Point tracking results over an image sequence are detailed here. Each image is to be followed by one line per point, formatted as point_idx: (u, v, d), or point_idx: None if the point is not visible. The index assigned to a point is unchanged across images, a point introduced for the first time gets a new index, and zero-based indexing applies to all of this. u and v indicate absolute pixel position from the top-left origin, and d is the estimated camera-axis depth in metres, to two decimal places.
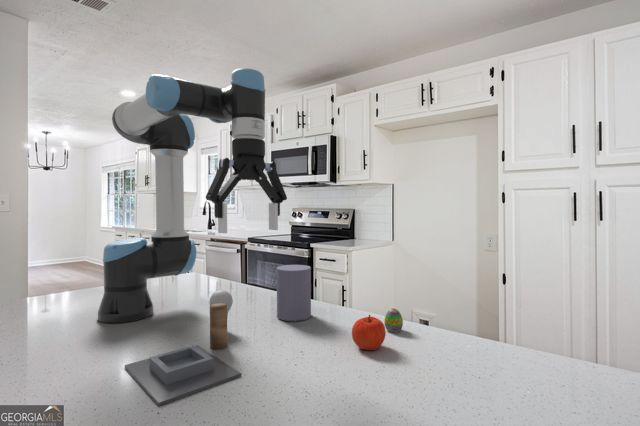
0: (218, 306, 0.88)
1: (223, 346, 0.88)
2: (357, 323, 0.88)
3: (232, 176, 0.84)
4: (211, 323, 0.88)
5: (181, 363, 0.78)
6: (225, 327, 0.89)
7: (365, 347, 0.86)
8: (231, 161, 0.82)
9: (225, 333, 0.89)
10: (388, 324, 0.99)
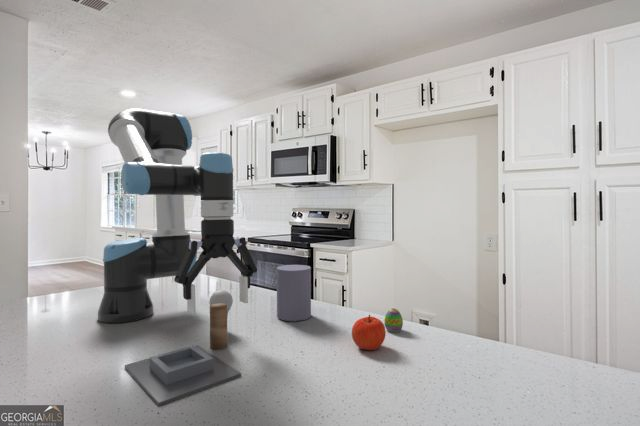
0: (218, 306, 0.88)
1: (223, 346, 0.88)
2: (357, 323, 0.88)
3: (201, 256, 0.86)
4: (211, 323, 0.88)
5: (181, 363, 0.78)
6: (225, 327, 0.89)
7: (365, 347, 0.86)
8: (199, 242, 0.85)
9: (225, 333, 0.89)
10: (388, 324, 0.99)
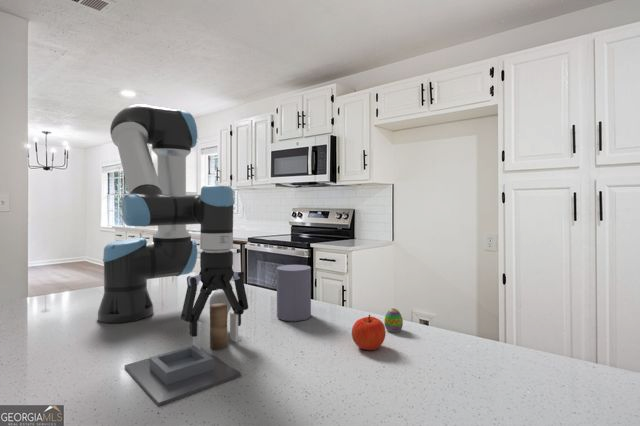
0: (218, 306, 0.88)
1: (223, 346, 0.88)
2: (357, 323, 0.88)
3: (202, 290, 0.87)
4: (211, 323, 0.88)
5: (181, 363, 0.78)
6: (225, 327, 0.89)
7: (365, 347, 0.86)
8: (198, 277, 0.85)
9: (225, 333, 0.89)
10: (388, 324, 0.99)
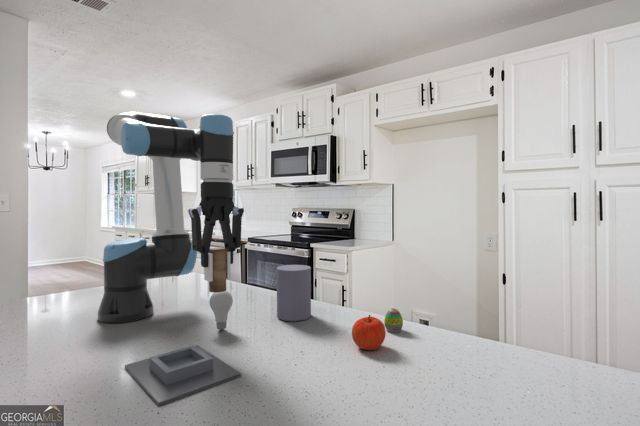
0: (217, 249, 0.88)
1: (222, 289, 0.88)
2: (357, 323, 0.88)
3: (206, 222, 0.87)
4: None
5: (181, 363, 0.78)
6: (224, 270, 0.88)
7: (365, 347, 0.86)
8: (199, 208, 0.85)
9: (224, 276, 0.88)
10: (388, 324, 0.99)
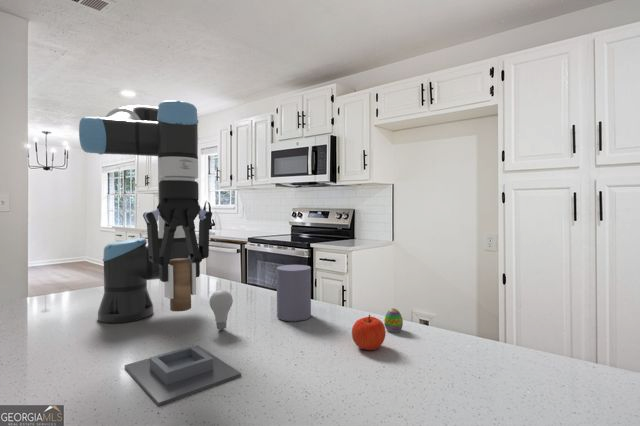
0: (179, 260, 0.74)
1: (185, 307, 0.74)
2: (357, 323, 0.88)
3: (165, 228, 0.74)
4: None
5: (181, 363, 0.78)
6: (188, 285, 0.75)
7: (365, 347, 0.86)
8: (156, 211, 0.72)
9: (188, 292, 0.75)
10: (388, 324, 0.99)
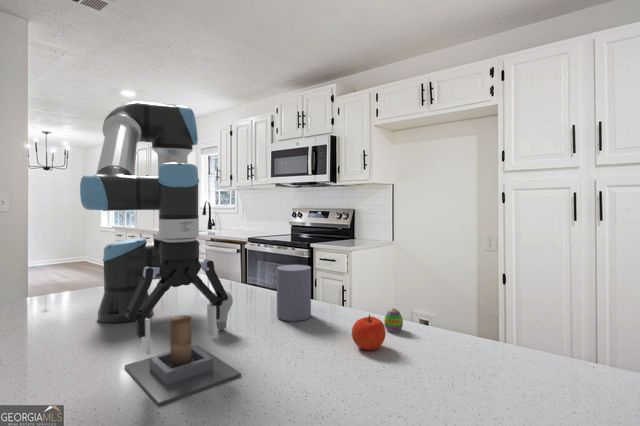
0: (180, 319, 0.75)
1: None
2: (357, 323, 0.88)
3: (159, 284, 0.73)
4: (172, 339, 0.74)
5: None
6: (188, 344, 0.75)
7: (365, 347, 0.86)
8: (156, 269, 0.72)
9: (188, 351, 0.75)
10: (388, 324, 0.99)
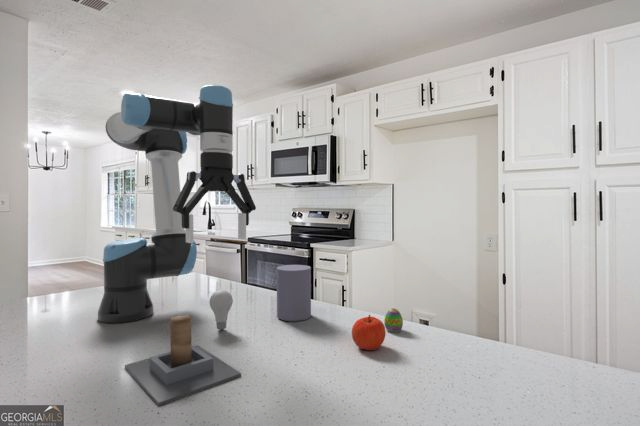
0: (180, 319, 0.75)
1: None
2: (357, 323, 0.88)
3: (200, 188, 0.87)
4: (172, 339, 0.74)
5: None
6: (188, 344, 0.75)
7: (365, 347, 0.86)
8: (198, 174, 0.86)
9: (188, 351, 0.75)
10: (388, 324, 0.99)
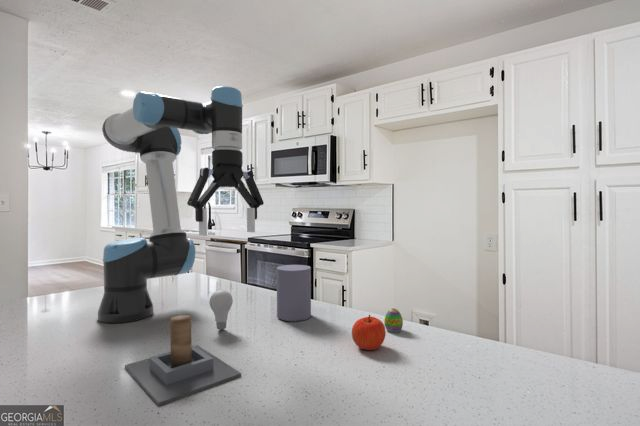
0: (180, 319, 0.75)
1: None
2: (357, 323, 0.88)
3: (212, 184, 0.92)
4: (172, 339, 0.74)
5: None
6: (188, 344, 0.75)
7: (365, 347, 0.86)
8: (211, 170, 0.91)
9: (188, 351, 0.75)
10: (388, 324, 0.99)
